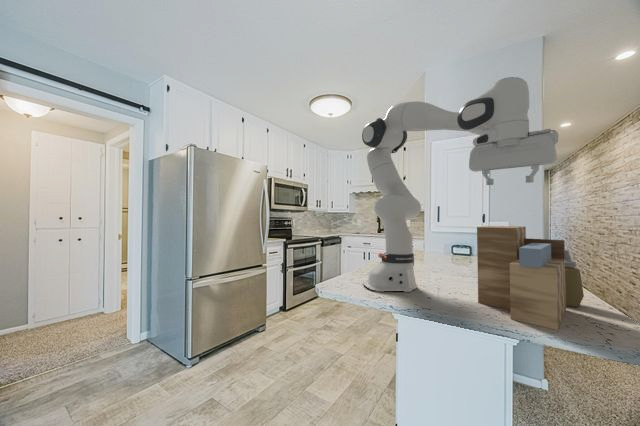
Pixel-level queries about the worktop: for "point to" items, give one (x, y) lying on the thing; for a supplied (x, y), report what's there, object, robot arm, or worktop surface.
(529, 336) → the worktop surface
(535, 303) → the stepped wooden blocks
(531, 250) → the blue-grey bar
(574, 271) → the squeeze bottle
